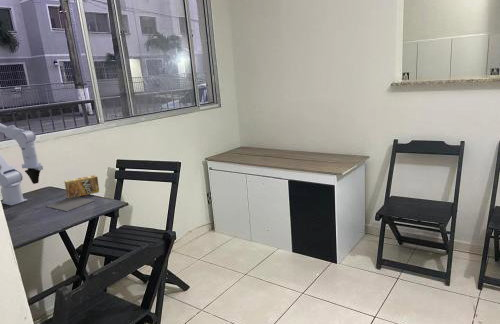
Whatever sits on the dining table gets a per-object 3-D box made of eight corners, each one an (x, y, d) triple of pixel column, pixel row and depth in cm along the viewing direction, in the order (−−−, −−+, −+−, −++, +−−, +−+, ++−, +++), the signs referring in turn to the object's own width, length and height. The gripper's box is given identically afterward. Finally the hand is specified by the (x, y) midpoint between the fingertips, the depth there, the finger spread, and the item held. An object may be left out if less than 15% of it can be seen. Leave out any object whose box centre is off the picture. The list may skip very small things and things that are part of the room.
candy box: (65, 182, 182) (97, 176, 191) (63, 180, 185) (95, 174, 194) (68, 198, 184) (99, 192, 193) (66, 196, 187) (97, 190, 196)
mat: (46, 206, 175) (46, 206, 175) (74, 196, 188) (74, 196, 188) (66, 211, 167) (66, 211, 167) (94, 200, 180) (94, 200, 180)
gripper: (46, 155, 174) (52, 182, 178) (29, 153, 182) (35, 179, 185) (32, 158, 169) (38, 186, 172) (15, 156, 176) (21, 183, 179)
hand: (35, 183), depth 178 cm, fingers closed
